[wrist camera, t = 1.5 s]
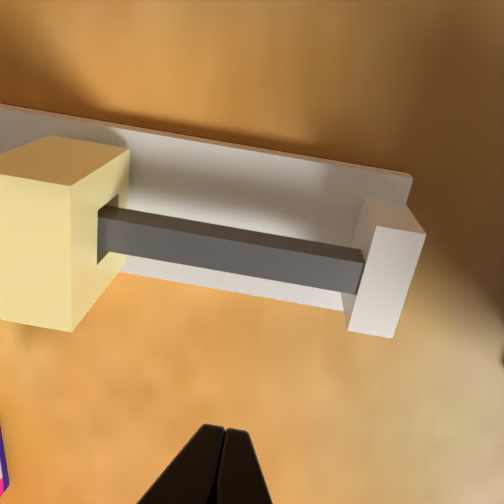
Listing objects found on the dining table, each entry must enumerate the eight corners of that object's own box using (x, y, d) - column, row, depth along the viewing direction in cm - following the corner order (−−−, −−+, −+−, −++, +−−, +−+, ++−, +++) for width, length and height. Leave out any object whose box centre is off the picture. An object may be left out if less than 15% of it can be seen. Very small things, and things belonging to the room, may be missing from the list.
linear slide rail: (408, 173, 18) (445, 214, 14) (369, 306, 21) (389, 377, 16) (-149, 78, 18) (-287, 88, 14) (-122, 220, 21) (-232, 267, 17)
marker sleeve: (130, 148, 17) (70, 186, 13) (125, 263, 19) (71, 332, 15) (51, 135, 18) (-38, 167, 13) (54, 251, 20) (-22, 315, 15)
